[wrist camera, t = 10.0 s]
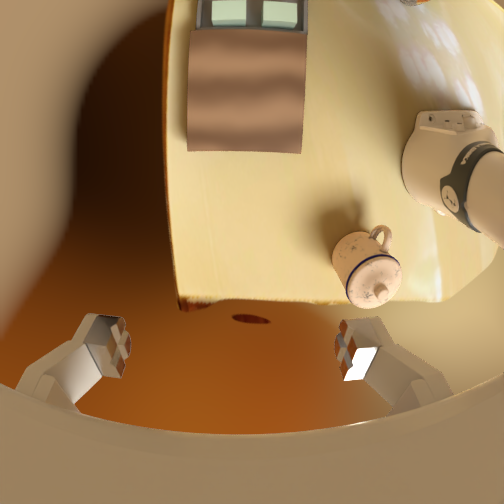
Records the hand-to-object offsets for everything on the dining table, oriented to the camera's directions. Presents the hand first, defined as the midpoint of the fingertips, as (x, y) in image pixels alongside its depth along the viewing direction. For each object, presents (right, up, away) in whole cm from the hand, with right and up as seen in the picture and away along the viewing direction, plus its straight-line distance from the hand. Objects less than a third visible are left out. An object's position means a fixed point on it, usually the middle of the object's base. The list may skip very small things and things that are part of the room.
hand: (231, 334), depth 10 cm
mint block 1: (-2, +31, +16) cm, 35 cm away
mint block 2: (+4, +31, +16) cm, 35 cm away
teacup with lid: (+18, +4, +34) cm, 39 cm away
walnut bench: (0, +24, +22) cm, 33 cm away
